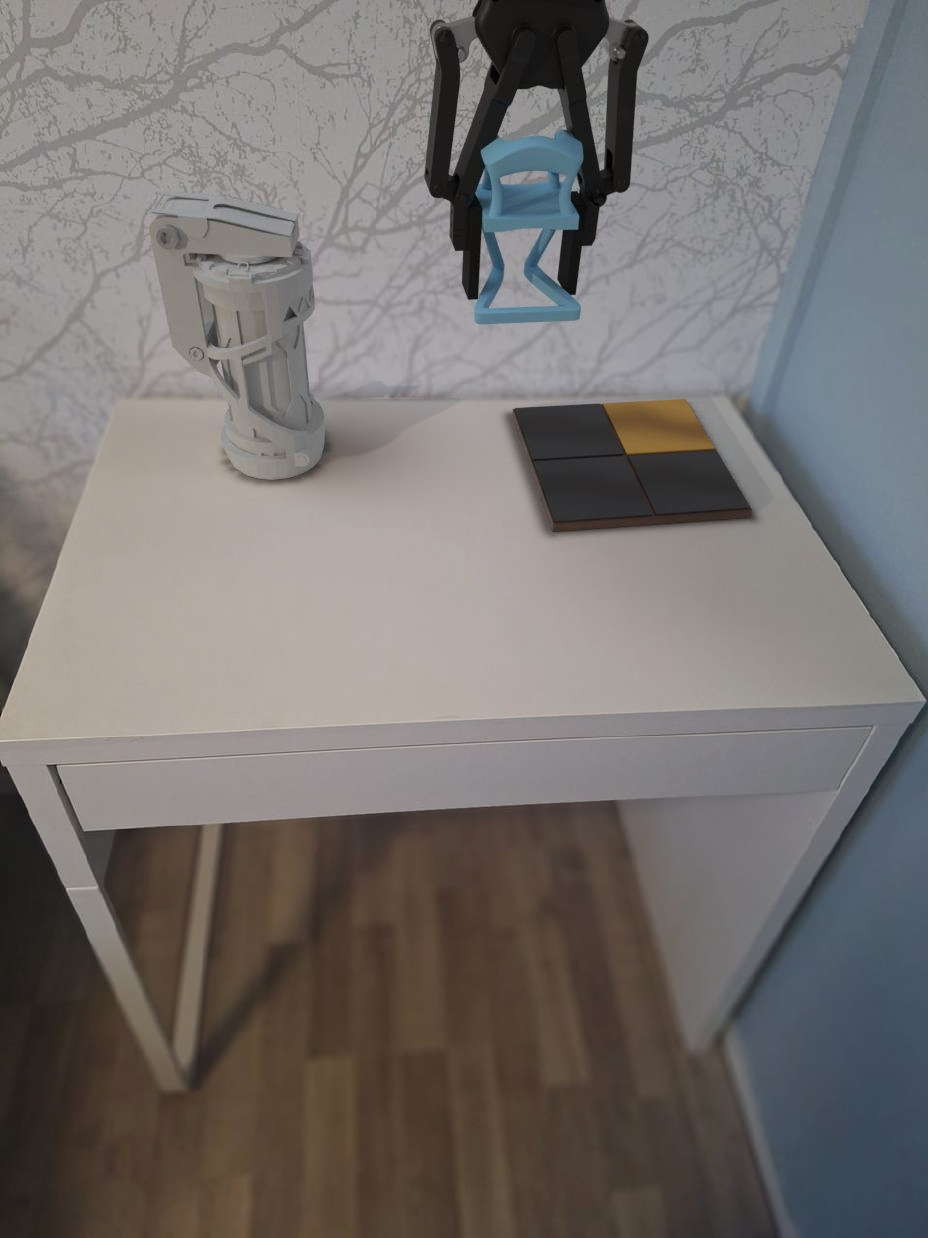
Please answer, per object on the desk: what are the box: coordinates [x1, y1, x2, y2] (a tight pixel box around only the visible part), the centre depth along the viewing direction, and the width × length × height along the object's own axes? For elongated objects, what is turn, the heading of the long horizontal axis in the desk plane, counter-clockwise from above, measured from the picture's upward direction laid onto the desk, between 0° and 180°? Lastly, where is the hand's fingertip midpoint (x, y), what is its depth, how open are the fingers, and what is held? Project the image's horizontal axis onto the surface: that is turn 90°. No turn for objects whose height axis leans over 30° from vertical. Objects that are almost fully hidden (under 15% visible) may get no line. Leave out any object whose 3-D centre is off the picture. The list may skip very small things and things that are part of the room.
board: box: [511, 398, 753, 532], centre depth 96 cm, size 20×20×1 cm
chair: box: [473, 128, 583, 325], centre depth 65 cm, size 8×8×12 cm
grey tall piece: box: [148, 189, 326, 481], centre depth 86 cm, size 13×10×25 cm
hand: (518, 288), depth 69 cm, fingers closed on chair, 7 cm apart
